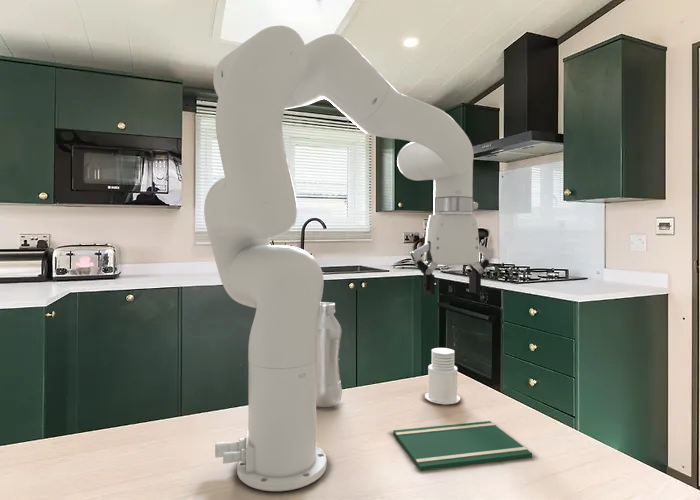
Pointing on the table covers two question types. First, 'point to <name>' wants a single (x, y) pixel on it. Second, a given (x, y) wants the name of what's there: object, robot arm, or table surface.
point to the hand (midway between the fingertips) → (452, 293)
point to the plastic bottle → (328, 357)
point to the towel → (459, 445)
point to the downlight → (442, 377)
